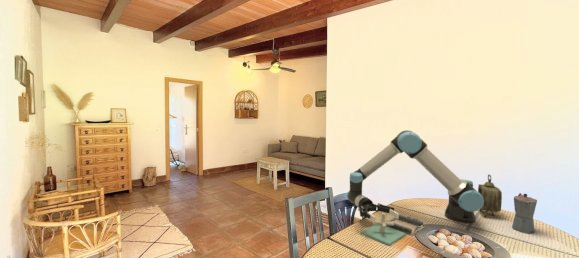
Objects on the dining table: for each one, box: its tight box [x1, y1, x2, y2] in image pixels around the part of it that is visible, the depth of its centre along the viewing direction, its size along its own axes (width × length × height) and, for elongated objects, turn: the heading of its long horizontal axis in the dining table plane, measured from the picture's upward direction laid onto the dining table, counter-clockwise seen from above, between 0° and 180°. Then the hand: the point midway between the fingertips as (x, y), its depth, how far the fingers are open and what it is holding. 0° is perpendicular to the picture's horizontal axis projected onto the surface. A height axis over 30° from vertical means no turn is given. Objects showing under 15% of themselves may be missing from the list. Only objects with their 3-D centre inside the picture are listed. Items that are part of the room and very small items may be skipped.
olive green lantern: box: [477, 174, 503, 218], centre depth 157 cm, size 14×9×25 cm, turn 153°
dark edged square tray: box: [386, 214, 424, 237], centre depth 144 cm, size 18×17×2 cm
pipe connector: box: [372, 212, 395, 233], centre depth 133 cm, size 10×10×10 cm
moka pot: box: [511, 193, 538, 235], centre depth 138 cm, size 10×15×20 cm, turn 160°
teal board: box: [360, 224, 407, 247], centre depth 134 cm, size 16×16×1 cm
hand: (386, 218), depth 130 cm, fingers open, 13 cm apart
